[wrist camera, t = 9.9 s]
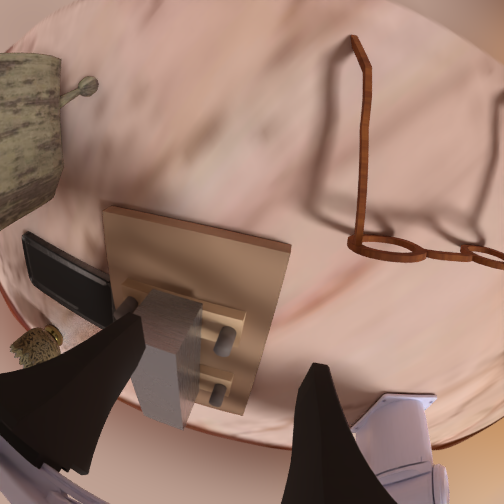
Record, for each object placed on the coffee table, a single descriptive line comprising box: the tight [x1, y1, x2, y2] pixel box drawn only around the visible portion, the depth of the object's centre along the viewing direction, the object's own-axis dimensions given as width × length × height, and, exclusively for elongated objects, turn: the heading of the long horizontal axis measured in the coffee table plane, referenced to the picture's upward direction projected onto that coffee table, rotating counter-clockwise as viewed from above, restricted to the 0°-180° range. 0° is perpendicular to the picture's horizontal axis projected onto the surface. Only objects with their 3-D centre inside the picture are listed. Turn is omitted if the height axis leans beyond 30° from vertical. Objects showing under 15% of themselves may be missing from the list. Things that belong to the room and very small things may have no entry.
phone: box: [22, 231, 116, 329], centre depth 25 cm, size 8×1×15 cm
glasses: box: [347, 35, 504, 270], centre depth 11 cm, size 13×13×5 cm
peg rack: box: [102, 206, 291, 416], centre depth 22 cm, size 22×14×4 cm, turn 171°
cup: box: [10, 325, 63, 369], centre depth 28 cm, size 8×7×8 cm
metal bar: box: [131, 289, 203, 430], centre depth 20 cm, size 12×4×5 cm, turn 171°
